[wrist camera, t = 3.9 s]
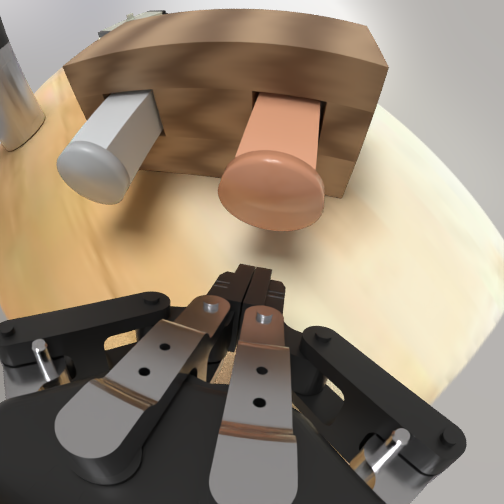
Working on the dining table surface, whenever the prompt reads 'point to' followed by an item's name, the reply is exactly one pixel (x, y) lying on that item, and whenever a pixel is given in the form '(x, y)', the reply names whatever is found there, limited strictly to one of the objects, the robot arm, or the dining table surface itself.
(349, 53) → the socket block
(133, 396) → the robot arm
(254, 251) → the dining table surface
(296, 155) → the terracotta plug
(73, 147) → the grey plug
